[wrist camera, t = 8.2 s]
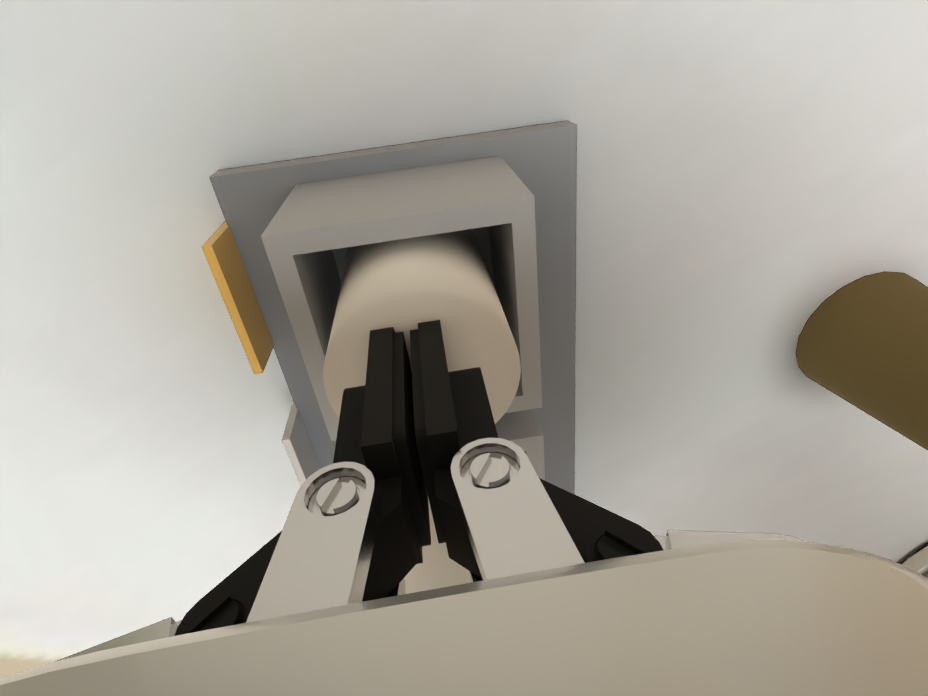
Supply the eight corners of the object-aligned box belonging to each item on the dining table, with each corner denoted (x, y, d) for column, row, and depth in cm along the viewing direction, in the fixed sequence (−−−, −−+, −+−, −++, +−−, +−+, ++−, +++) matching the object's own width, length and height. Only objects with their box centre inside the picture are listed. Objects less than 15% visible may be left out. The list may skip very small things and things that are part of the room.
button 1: (486, 315, 20) (525, 437, 14) (364, 334, 19) (349, 465, 14) (474, 192, 17) (514, 275, 11) (332, 212, 17) (297, 308, 11)
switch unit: (568, 551, 30) (603, 656, 25) (366, 586, 30) (359, 699, 25) (568, 120, 17) (638, 156, 12) (211, 171, 17) (131, 229, 12)
